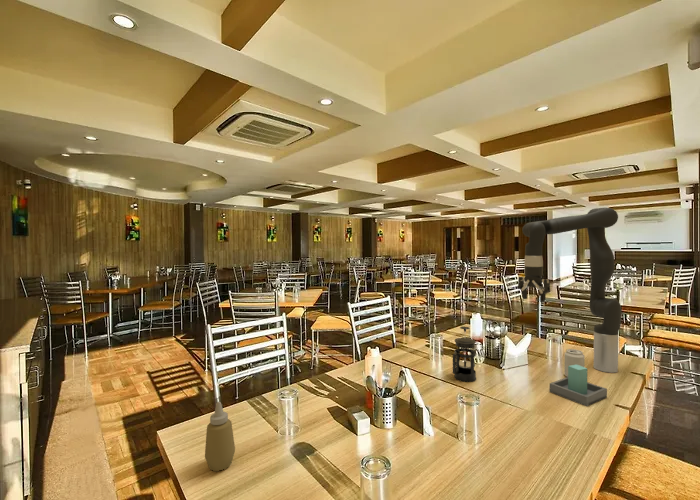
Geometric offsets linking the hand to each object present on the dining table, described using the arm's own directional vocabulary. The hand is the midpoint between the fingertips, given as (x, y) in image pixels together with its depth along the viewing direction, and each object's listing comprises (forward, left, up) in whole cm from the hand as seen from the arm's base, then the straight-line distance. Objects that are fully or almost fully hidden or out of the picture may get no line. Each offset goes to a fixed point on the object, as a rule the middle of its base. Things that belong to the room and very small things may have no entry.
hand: (533, 300), depth 160 cm
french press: (+34, -10, -33) cm, 49 cm away
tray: (+8, +24, -33) cm, 42 cm away
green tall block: (+8, +24, -32) cm, 41 cm away
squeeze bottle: (+138, -2, -33) cm, 142 cm away
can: (-8, +14, -33) cm, 37 cm away
